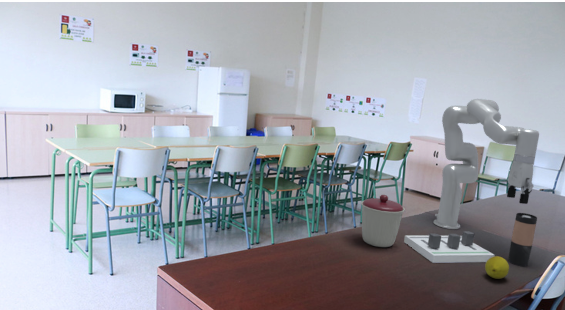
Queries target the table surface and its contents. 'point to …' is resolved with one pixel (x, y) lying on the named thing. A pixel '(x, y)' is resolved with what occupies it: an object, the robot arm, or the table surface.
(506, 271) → the lemon
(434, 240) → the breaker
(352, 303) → the table surface
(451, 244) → the block
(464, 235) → the block
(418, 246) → the breaker panel
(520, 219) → the travel mug
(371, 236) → the canister
